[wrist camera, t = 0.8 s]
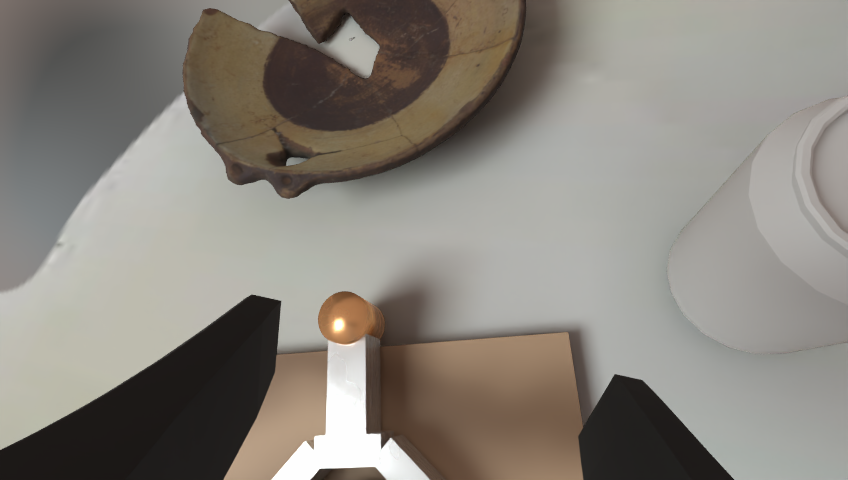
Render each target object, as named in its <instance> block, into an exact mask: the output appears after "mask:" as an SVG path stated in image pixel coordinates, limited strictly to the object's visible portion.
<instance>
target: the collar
mask: <svg viewBox="0 0 848 480" xmlns="http://www.w3.org/2000/svg"><path fill="white" fill-rule="evenodd" d="M318 324H319V328H320V331H321V333H322V334H323V335H324V337H325V338H327V339H328V368H327V411H326V434H325V435H319V436H315V439H314V440H309V441H305V442H304V443H303V444H302V446H301V447H300V448H299V449H298V450H297V451H296V453H295V454H294V455H293V456H292V457H291V458H290V459H289V461H288V462H287V463H286V464H285V465H284V466H283V468H282V469H281V470H280V471H279V472H278V473H277V475H276V476H275V477H274V478H273V479H272V480H323V479H324V478H325V477H326V476H327V475H328V473H329V472H330V471H331V470H332V469H333V468H351V467H376V468H377V469H378V471H379V472H380V473H381V474H382V475H383V476H384V477H385V478H386V480H446V479H445V478H444V477H443V476H442V475H441V474H440V473H439V472H438V470H437V469H436V468H435V467H434V466H433V465H432V464H431V463H430V462H429V461H428V460H427V459H426V458H425V457H424V456H423V455H422V454H421V453H420V452H419V451H418V450H417V449H416V447H415V446H414V445H413V444H412V443H411V442H410V441H409V440H408V439H407V438H406V437H405V436H404V435H399V436H396V437H394V431H381V375H380V339H381V337H382V335H383V333H384V328H385V320H384V317H383V314H382V312H381V311H380V310H379V309H378V308H377V307H376V306H374V305H373V304H371V303H369V302H368V301H366V300H364V299H363V298H361V297H359V296H358V295H356V294H354V293H352V292H346V291H344V292H338V293H336V294H333V295H332V296H330V297H329V298H328V299H327V300H326V301H325V302H324V303H323V305H322V307H321V309H320V312H319V316H318Z"/></svg>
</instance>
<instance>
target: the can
mask: <svg viewBox="0 0 848 480" xmlns="http://www.w3.org/2000/svg"><path fill="white" fill-rule="evenodd" d="M667 275H668V280H669V284H670V289H671V294H672V295H673V297H674V299H675V301H676V302H677V304H678V306H679V308H680V309H681V311H682V313H683V314H684V316H685V317H686V318H687V319H689V320H690V321H691V322H692V323H693V324H694V325H695V326H696V327H697V328H698V329H699V330H700V331H701V332H702V333H703V334H705V335H707V336H708V337H710V338H712V339H714V340H716V341H718V342H720V343H721V344H723V345H725V346H727V347H729V348H733V349H737V350H741V351H745V352H749V353H753V354H781V353H790V352H796V351H801V350H807V349H812V348H818V347H823V346H829V345H834V344H840V343H845V342H848V95H847V96H844V97H842V98H835V99H829V100H826V101H824V102H821V103H819V104H816V105H814V106H811V107H809V108H806V109H804V110H801V111H799V112H796V113H794V114H793V115H791V116H790V117H789V118H788V119H787V120H785V121H784V122H783V123H782V124H780V125H779V126H778V127H777V128H776V129H774V130H773V131H772V132H771V133H769V134H768V135H767V136H766V137H765V138H764V140H763V141H762V142H761V143H760V144H759V145H758V146H757V147H756V148H755V150H754V151H753V152H752V153H751V154H750V155H749V156H748V157H747V158H746V160H745V161H744V162H743V163H742V164H741V165H740V166H739V167H738V168H737V170H736V171H735V172H734V173H733V174H732V175H731V176H730V177H729V178H728V180H727V181H726V182H725V183H724V184H723V185H722V186H721V187H720V188H719V190H718V191H717V192H716V193H715V194H714V195H713V196H712V197H711V198H710V200H709V201H708V202H707V203H706V204H705V205H704V206H703V207H702V208H701V210H700V211H699V212H698V213H697V214H696V215H695V216H694V217H693V218H692V220H691V221H690V222H689V223H688V224H687V225H686V226H685V227H684V228H683V229H682V231H681V232H680V234H679V235H678V237H677V239H676V240H675V242H674V244H673V246H672V247H671V249H670V253H669V260H668V266H667Z"/></svg>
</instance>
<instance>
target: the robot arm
mask: <svg viewBox="0 0 848 480" xmlns="http://www.w3.org/2000/svg"><path fill="white" fill-rule="evenodd" d="M280 308H281V301H279V300H274V299H270V298H265V297H261V296H256V295H250V296H249V297H247V298H245V299H244V300H243V301H241V302H240V303H238V304H237V305H236V306H234V307H233V308H232V309H230V310H229V311H228V312H226V313H225V314H224V315H222V316H221V317H220V318H218V319H217V320H216V321H214V322H213V323H211V324H210V325H209V326H207V327H206V328H204V329H203V330H202V331H200V332H199V333H198V334H196V335H195V336H193V337H192V338H190V339H189V340H187V341H186V342H184V343H183V344H182V345H180V346H179V347H177V348H176V349H174V350H173V351H171V352H170V353H168V354H167V355H166V356H164V357H163V358H161V359H160V360H158V361H157V362H155V363H154V364H152V365H150V366H149V367H147V368H146V369H144V370H142V371H141V372H139V373H138V374H136V375H134V376H133V377H131V378H130V379H128V380H126V381H125V382H123V383H122V384H120V385H118V386H117V387H115V388H114V389H112V390H110V391H109V392H107V393H105V394H104V395H102V396H100V397H99V398H97V399H95V400H93V401H92V402H90V403H88V404H87V405H85V406H83V407H81V408H80V409H78V410H76V411H74V412H72V413H71V414H69V415H67V416H65V417H63V418H61V419H60V420H58V421H56V422H54V423H52V424H50V425H48V426H47V427H45V428H43V429H41V430H39V431H37V432H35V433H33V434H32V435H30V436H28V437H26V438H24V439H22V440H20V441H18V442H16V443H14V444H12V445H10V446H8V447H6V448H4V449H2V450H0V480H224V478H225V476H226V474H227V472H228V470H229V469H230V467H231V465H232V463H233V461H234V459H235V457H236V456H237V454H238V452H239V450H240V448H241V446H242V444H243V442H244V441H245V439H246V437H247V435H248V433H249V431H250V429H251V427H252V426H253V424H254V422H255V420H256V418H257V416H258V413H259V411H260V408H261V406H262V404H263V401H264V399H265V396H266V394H267V391H268V389H269V386H270V384H271V381H272V379H273V376H274V374H275V367H276V356H277V344H278V332H279V320H280ZM578 440H579V449H580V458H581V466H582V473H583V480H734V479H733V478H732V477H731V476H730V475H729V474H728V472H727V471H726V470H725V469H724V468H723V467H722V466H721V465H720V464H719V463H718V462H717V461H716V459H715V458H714V457H713V456H712V455H711V454H710V453H709V452H708V451H707V450H706V448H705V447H704V446H703V445H702V444H701V443H700V442H699V441H698V440H697V439H696V437H695V436H694V435H693V434H692V433H691V432H690V431H689V430H688V429H687V427H686V426H685V425H684V424H683V423H682V422H681V421H680V420H679V419H678V417H677V416H676V415H675V414H674V413H673V412H672V411H671V410H670V409H669V408H668V406H667V405H666V404H665V403H664V402H663V401H662V400H661V399H660V398H659V397H658V396H657V395H656V394H655V393H654V392H653V390H652V389H651V388H650V387H649V386H648V385H647V384H646V383H645V382H644V381H642V380H639V379H634V378H630V377H625V376H621V375H616V374H615V375H614V377H613V378H612V380H611V382H610V383H609V385H608V387H607V388H606V390H605V392H604V393H603V395H602V397H601V398H600V400H599V402H598V404H597V405H596V407H595V409H594V410H593V412H592V414H591V415H590V417H589V419H588V420H587V422H586V424H585V425H584V427H583V429H582V430H581V432H580V434H579V436H578Z"/></svg>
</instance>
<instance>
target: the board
mask: <svg viewBox="0 0 848 480" xmlns="http://www.w3.org/2000/svg"><path fill="white" fill-rule="evenodd" d="M327 368H328V351H319V352H306V353H293V354H280V355H277V356H276V367H275V374H274V376H273V379H272V381H271V384H270V386H269V389H268V391H267V394H266V396H265V399H264V401H263V404H262V406H261V408H260V411H259V413H258V416H257V418H256V420H255V422H254V424H253V426H252V427H251V429H250V431H249V433H248V435H247V437H246V439H245V441H244V442H243V444H242V446H241V448H240V450H239V452H238V454H237V456H236V457H235V459H234V461H233V463H232V465H231V467H230V469H229V470H228V472H227V474H226V476H225V478H224V480H272V479H273V478H274V477H275V476H276V475H277V473H278V472H279V471H280V470H281V469H282V468H283V466H284V465H285V464H286V463H287V462H288V461H289V459H290V458H291V457H292V456H293V455H294V454H295V453H296V451H297V450H298V449H299V448H300V447H301V446H302V444H303V443H304V442H305V441H309V440H314V439H315V436H319V435H325V434H326V411H327ZM380 375H381V431H394V437H396V436H399V435H404V436H405V437H406V438H407V439H408V440H409V441H410V442H411V443H412V444H413V445H414V446H415V447H416V449H417V450H418V451H419V452H420V453H421V454H422V455H423V456H424V457H425V458H426V459H427V460H428V461H429V462H430V463H431V464H432V465H433V466H434V467H435V468H436V469H437V470H438V472H439V473H440V474H441V475H442V476H443V477H444V478H445V479H446V480H583V473H582V466H581V458H580V449H579V440H578V436H579V434H580V432H581V430H582V429H583V423H582V417H581V411H580V404H579V398H578V392H577V385H576V379H575V372H574V366H573V360H572V353H571V347H570V341H569V334H568V332H563V333H550V334H537V335H524V336H511V337H499V338H486V339H473V340H460V341H447V342H434V343H422V344H409V345H396V346H383V347H380ZM323 480H386V478H385V477H384V476H383V475H382V474H381V473H380V472H379V471H378V469H377V468H376V467H351V468H333V469H332V470H331V471H330V472H329V473H328V475H327V476H326V477H325V478H324V479H323Z"/></svg>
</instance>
